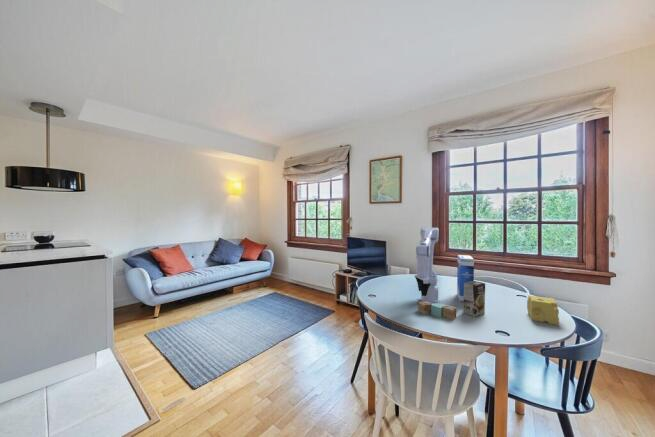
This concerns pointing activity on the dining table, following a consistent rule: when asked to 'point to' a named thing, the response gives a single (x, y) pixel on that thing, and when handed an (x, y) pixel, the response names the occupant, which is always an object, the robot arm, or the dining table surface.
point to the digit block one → (424, 307)
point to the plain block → (437, 309)
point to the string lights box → (464, 273)
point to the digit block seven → (449, 312)
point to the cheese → (543, 309)
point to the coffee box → (474, 298)
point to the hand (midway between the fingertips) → (422, 293)
